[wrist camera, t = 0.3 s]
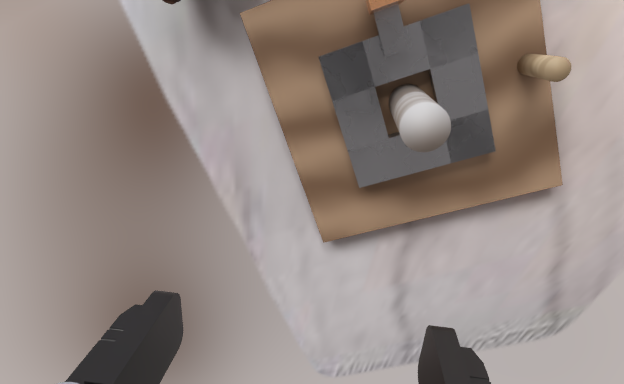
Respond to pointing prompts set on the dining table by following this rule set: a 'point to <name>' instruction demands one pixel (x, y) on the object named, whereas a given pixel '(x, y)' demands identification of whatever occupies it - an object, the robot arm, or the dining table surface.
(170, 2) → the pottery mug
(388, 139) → the knobbed grey plate
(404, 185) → the post base
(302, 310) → the dining table surface
